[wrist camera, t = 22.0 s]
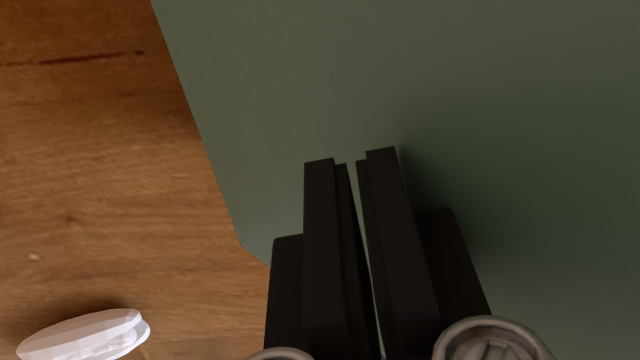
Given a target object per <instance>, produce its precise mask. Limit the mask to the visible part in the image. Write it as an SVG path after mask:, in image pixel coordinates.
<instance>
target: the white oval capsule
mask: <svg viewBox="0 0 640 360" xmlns="http://www.w3.org/2000/svg"><path fill="white" fill-rule="evenodd" d="M149 334H150V328H149V325H148V324H147V323H146V322H145V321H144V320H143V319H142V317H141V314H140V312H139V310H136V309H110V310H105V311H100V312H94V313H89V314H86V315H82V316H79V317H75V318H72V319H68V320H65V321H62V322H60V323H57V324H55V325H52V326H49V327H47V328H44V329H42V330H40V331H38V332H37V333H35V334H33V335H31V336H30V337H28V338H26V339H24V340H23V341H22V342H21V343H20V344H19V346H18V348H17V350H16V354H17V355H18V357H19V358H20V359H22V360H115V359H117V358H119V357H121V356H123V355H125V354H127V353H128V352H130V351H131V350H132V349H134V348H135V347H137V346H138V345H139V344H141V343H142V342H144V341H145V340H146V339H147V337H148V336H149Z"/></svg>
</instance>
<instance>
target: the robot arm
mask: <svg viewBox="0 0 640 360" xmlns="http://www.w3.org/2000/svg"><path fill="white" fill-rule="evenodd" d="M365 153H366V159H362V160H357V161H355V165H356V172H357V179H358V186H359V193H360V200H361V207H362V214H363V221H364V228H365V235H366V242H367V249H368V256H369V263H370V271H371V278H372V284H371V278H370V273H369V268H368V263H367V258H366V254H365V249H364V244H363V240H362V235H361V230H360V225H359V221H358V216H357V211H356V207H355V202H354V197H353V192H352V188H351V183H350V178H349V173H348V169H347V165H346V163H341V164H336V165H335V161H334V158H333V157H331V158H326V159H321V160H315V161H310V162H305V163H304V200H303V233H300V234H294V235H289V236H283V237H277V238H275V239H274V240H273V246H272V257H271V269H270V280H269V292H268V303H267V314H266V326H265V337H264V349H263V350H262V351H259V352H257V353H255V354H252V355H250V356H249V357H247V358H246V359H244V360H382V355H381V348H380V341H379V334H378V326H377V319H376V312H375V305H376V311H377V317H378V322H379V327H380V332H381V337H382V342H383V346H384V351H385V356H386V360H556V358H555V357H554V355H553V354H552V352H551V351H550V350H549V348H548V347H547V345H546V344H545V342H544V341H543V340H542V339H541V338H540V337H539V336H538V335H537V334H536V333H535V332H534V331H533V330H532V329H530V328H528V327H527V326H525V325H523V324H522V323H520V322H518V321H515V320H512V319H509V318H506V317H503V316H493V315H492V313H491V310H490V307H489V305H488V302H487V299H486V297H485V294H484V292H483V289H482V286H481V284H480V281H479V279H478V276H477V273H476V271H475V268H474V265H473V263H472V260H471V258H470V255H469V252H468V250H467V247H466V244H465V242H464V239H463V237H462V234H461V231H460V229H459V226H458V223H457V221H456V218H455V216H454V213H453V211H452V209H451V208H450V207H448V208H442V209H436V210H431V211H425V212H419V213H414V214H413V212H412V208H411V205H410V201H409V197H408V194H407V190H406V186H405V183H404V179H403V175H402V172H401V168H400V164H399V161H398V157H397V154H396V150H395V147H394V146H390V147H384V148H379V149H374V150H368V151H365ZM372 285H373V291H372ZM373 292H374V298H373ZM374 299H375V305H374Z"/></svg>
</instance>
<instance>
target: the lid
mask: <svg viewBox="0 0 640 360" xmlns="http://www.w3.org/2000/svg"><path fill="white" fill-rule="evenodd" d="M150 2H151V4H152V7H153V10H154V12H155V15H156V18H157V20H158V23H159V26H160V28H161V31H162V34H163V37H164V39H165V42H166V45H167V47H168V50H169V53H170V55H171V58H172V61H173V63H174V66H175V69H176V72H177V74H178V77H179V80H180V82H181V85H182V88H183V90H184V93H185V96H186V99H187V101H188V104H189V107H190V109H191V112H192V115H193V117H194V120H195V123H196V125H197V128H198V131H199V134H200V136H201V139H202V142H203V144H204V147H205V150H206V152H207V155H208V158H209V160H210V163H211V166H212V169H213V171H214V174H215V177H216V179H217V182H218V185H219V187H220V190H221V193H222V195H223V198H224V201H225V204H226V206H227V209H228V212H229V214H230V217H231V220H232V222H233V225H234V228H235V230H236V233H237V236H238V239H239V241H240V244H241V246H242V247H244V248H245V249H246V250H248V251H249V252H250V253H251V254H253V255H254V256H255V257H257V258H258V259H259V260H260V261H262V262H263V263H264V264H266V265H267V266H268V267H269V268H271V257H272V246H273V240H274V239H275V238H277V237H283V236H289V235H294V234H300V233H303V200H304V163H305V162H310V161H315V160H321V159H326V158H331V157H333V158H334V161H335V165H336V164H341V163H346V165H347V169H348V173H349V178H350V183H351V188H352V192H353V197H354V202H355V207H356V211H357V216H358V221H359V225H360V230H361V235H362V240H363V244H364V249H365V254H366V258H367V263H368V268H369V273H370V278H371V271H370V263H369V256H368V249H367V242H366V235H365V228H364V221H363V214H362V207H361V200H360V193H359V186H358V179H357V172H356V165H355V161H357V160H362V159H366V153H365V151H368V150H374V149H379V148H384V147H390V146H394V147H395V150H396V154H397V157H398V161H399V164H400V168H401V172H402V175H403V179H404V183H405V186H406V190H407V194H408V197H409V201H410V205H411V208H412V212H413V214H414V213H419V212H425V211H431V210H436V209H442V208H448V207H450V208H451V209H452V211H453V213H454V216H455V218H456V221H457V223H458V226H459V229H460V231H461V234H462V237H463V239H464V242H465V244H466V247H467V250H468V252H469V255H470V258H471V260H472V263H473V265H474V268H475V271H476V273H477V276H478V279H479V281H480V284H481V286H482V289H483V292H484V294H485V297H486V299H487V302H488V305H489V307H490V310H491V313H492V315H493V316H503V317H506V318H509V319H512V320H515V321H518V322H520V323H522V324H523V325H525V326H527V327H528V328H530V329H532V330H533V331H534V332H535V333H536V334H537V335H538V336H539V337H540V338H541V339H542V340H543V341H544V342H545V344H546V345H547V347H548V348H549V350H550V351H551V352H552V354H553V355H554V357H555V358H556V360H640V0H150ZM371 284H372V278H371ZM372 291H373V285H372ZM373 298H374V292H373ZM374 305H375V299H374ZM375 312H376V319H377V326H378V334H379V341H380V348H381V354H382V355H383V356H385V351H384V346H383V342H382V337H381V332H380V327H379V322H378V317H377V311H376V305H375ZM385 357H386V356H385Z"/></svg>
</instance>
